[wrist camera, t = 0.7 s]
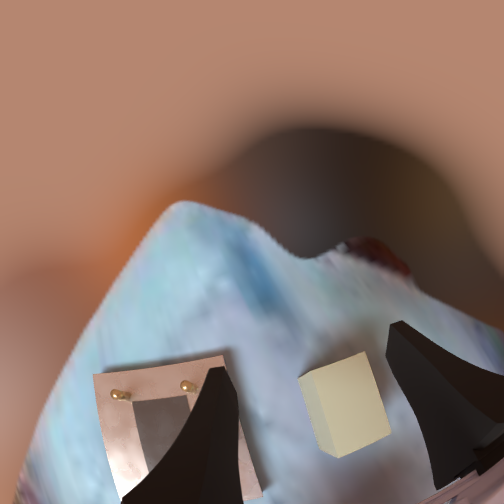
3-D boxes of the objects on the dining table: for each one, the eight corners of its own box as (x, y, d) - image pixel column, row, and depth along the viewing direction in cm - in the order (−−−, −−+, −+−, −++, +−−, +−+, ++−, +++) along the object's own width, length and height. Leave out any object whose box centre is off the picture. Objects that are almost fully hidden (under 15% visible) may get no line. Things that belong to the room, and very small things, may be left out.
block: (364, 430, 22) (391, 433, 16) (319, 449, 21) (338, 458, 16) (342, 363, 26) (364, 351, 21) (297, 378, 25) (310, 370, 20)
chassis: (262, 492, 18) (264, 505, 15) (128, 503, 16) (112, 513, 13) (223, 357, 26) (220, 349, 22) (99, 376, 24) (80, 369, 20)
